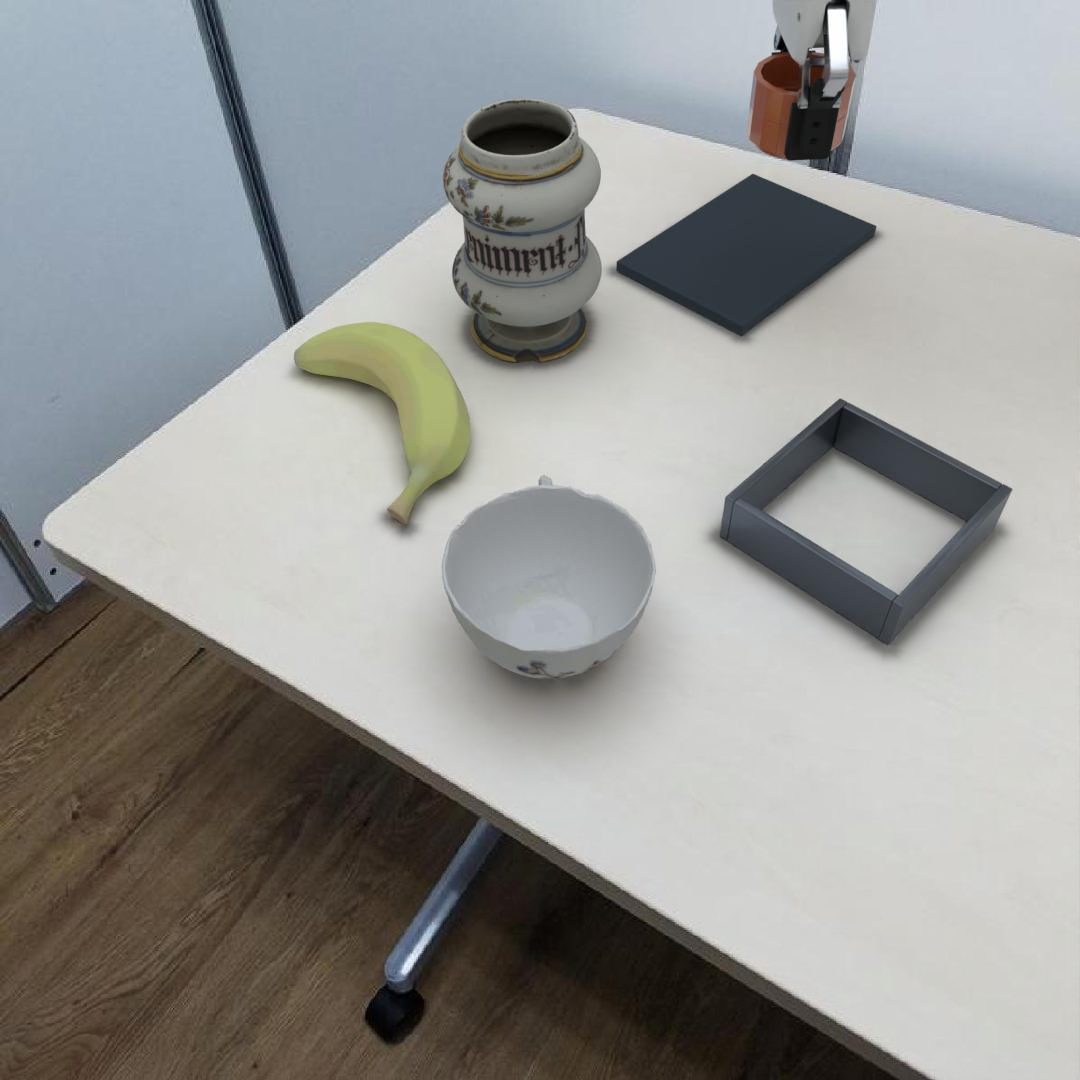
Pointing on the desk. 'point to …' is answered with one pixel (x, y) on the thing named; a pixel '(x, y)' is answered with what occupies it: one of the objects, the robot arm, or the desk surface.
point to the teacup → (548, 579)
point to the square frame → (896, 460)
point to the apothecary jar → (524, 228)
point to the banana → (400, 395)
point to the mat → (746, 252)
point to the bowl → (785, 102)
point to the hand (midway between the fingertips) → (796, 129)
